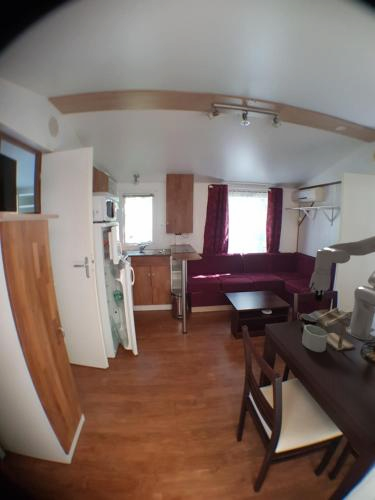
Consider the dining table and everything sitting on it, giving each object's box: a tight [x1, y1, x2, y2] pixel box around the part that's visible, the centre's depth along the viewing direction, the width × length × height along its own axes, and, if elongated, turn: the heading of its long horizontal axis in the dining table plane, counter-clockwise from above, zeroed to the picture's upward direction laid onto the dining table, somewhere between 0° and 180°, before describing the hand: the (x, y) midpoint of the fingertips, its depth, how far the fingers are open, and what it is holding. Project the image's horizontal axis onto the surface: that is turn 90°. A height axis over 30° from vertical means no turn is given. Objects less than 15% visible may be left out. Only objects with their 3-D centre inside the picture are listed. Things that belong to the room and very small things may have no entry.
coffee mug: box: [297, 313, 318, 333], centre depth 120 cm, size 12×9×10 cm
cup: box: [301, 325, 328, 353], centre depth 106 cm, size 11×11×10 cm
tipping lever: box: [307, 307, 352, 328], centre depth 109 cm, size 17×14×6 cm
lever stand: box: [321, 310, 355, 351], centre depth 108 cm, size 12×13×17 cm
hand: (317, 300), depth 110 cm, fingers closed
